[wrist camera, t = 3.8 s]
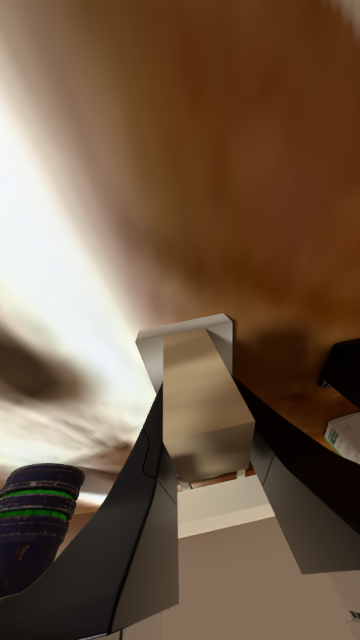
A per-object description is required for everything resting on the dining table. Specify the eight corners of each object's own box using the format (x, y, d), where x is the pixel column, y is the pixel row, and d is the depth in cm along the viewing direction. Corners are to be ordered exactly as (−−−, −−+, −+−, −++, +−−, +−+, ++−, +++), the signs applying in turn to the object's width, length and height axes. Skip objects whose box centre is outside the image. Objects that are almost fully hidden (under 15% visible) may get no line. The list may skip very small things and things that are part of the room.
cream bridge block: (267, 438, 22) (300, 496, 17) (262, 460, 26) (287, 513, 21) (147, 465, 22) (141, 533, 17) (160, 483, 26) (159, 542, 21)
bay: (244, 464, 26) (245, 467, 26) (242, 482, 31) (243, 485, 31) (178, 479, 26) (178, 482, 26) (187, 495, 31) (187, 498, 31)
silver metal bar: (139, 330, 11) (100, 455, 4) (223, 313, 11) (315, 407, 4) (185, 455, 22) (194, 545, 15) (227, 446, 22) (255, 531, 15)
